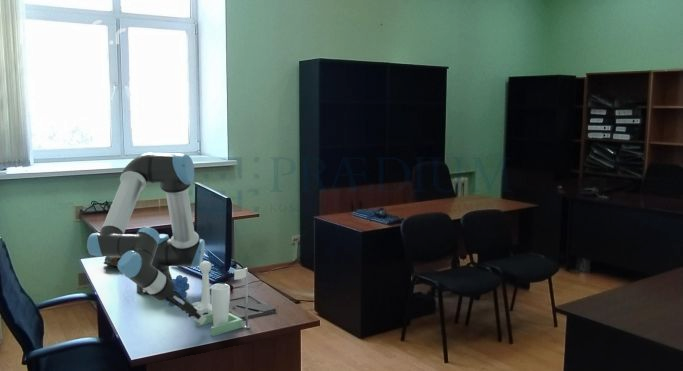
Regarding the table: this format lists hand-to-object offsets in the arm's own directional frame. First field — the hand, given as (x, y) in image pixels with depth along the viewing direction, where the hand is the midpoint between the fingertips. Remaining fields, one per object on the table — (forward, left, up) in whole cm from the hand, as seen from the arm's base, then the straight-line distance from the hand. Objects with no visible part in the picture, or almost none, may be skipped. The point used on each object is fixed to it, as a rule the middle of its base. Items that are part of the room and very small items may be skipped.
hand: (203, 321), depth 205 cm
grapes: (-30, +5, -4) cm, 31 cm away
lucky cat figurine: (-93, +9, -4) cm, 94 cm away
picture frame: (-10, +24, -5) cm, 27 cm away
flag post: (+7, +12, -4) cm, 14 cm away
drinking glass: (0, +7, -4) cm, 8 cm away
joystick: (-16, +9, -4) cm, 19 cm away
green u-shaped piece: (0, +6, -4) cm, 7 cm away
